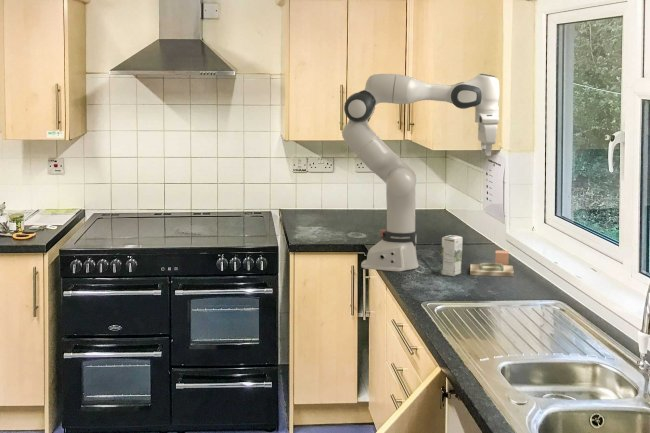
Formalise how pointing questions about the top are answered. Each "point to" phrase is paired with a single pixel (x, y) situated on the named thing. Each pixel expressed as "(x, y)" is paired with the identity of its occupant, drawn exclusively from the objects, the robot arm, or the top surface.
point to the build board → (491, 269)
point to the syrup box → (451, 255)
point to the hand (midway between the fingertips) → (486, 154)
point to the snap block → (502, 257)
